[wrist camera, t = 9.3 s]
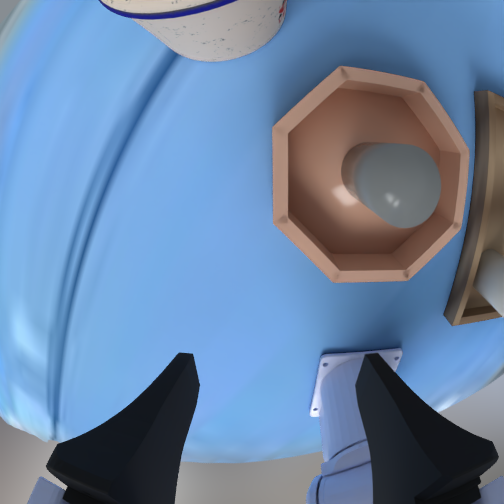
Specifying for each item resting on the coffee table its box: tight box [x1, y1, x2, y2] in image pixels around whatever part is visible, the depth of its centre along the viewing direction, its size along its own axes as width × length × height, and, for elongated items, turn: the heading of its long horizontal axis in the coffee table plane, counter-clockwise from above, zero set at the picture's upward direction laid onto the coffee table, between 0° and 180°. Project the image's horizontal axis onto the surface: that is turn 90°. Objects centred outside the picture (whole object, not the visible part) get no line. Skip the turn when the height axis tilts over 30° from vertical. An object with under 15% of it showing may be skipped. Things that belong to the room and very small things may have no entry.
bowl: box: [272, 66, 470, 283], centre depth 15 cm, size 13×13×3 cm
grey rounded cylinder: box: [341, 142, 441, 228], centre depth 14 cm, size 4×4×6 cm
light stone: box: [472, 249, 504, 318], centre depth 16 cm, size 4×4×6 cm
